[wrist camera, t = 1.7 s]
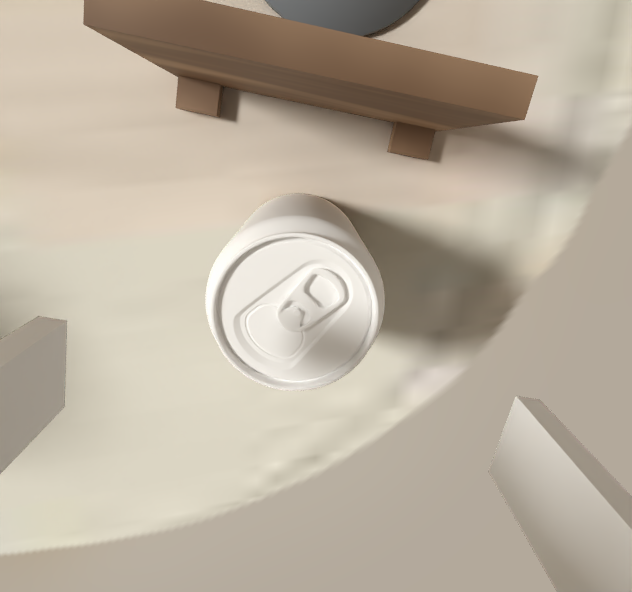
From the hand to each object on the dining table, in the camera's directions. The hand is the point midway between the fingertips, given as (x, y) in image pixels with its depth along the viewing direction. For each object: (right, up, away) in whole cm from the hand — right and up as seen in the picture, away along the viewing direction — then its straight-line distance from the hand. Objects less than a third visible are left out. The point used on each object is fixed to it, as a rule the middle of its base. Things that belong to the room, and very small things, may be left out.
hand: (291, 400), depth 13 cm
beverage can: (0, +6, +17) cm, 18 cm away
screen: (0, +15, +14) cm, 21 cm away
